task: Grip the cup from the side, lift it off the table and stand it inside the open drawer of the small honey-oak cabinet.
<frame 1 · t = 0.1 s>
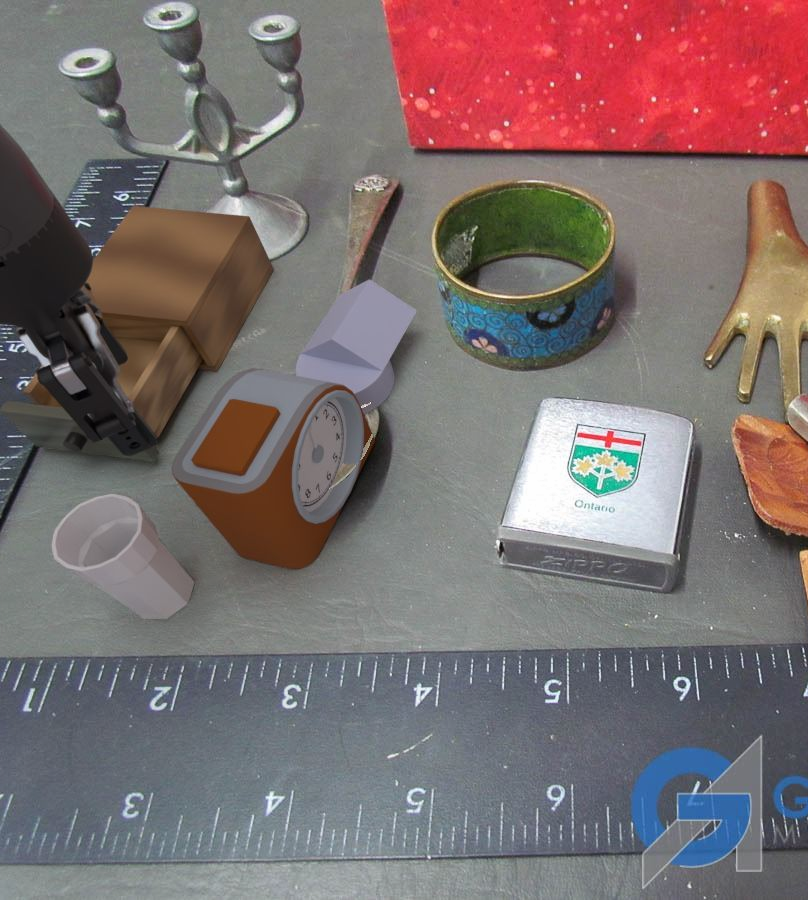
hand: (127, 404, 57), 21 cm above the table, tool pointing down, fingers open, 8 cm apart
drawer: (113, 382, 80), point 4 cm above the table, slide at 11.0 cm
alarm clock: (306, 496, 77), on the table
cup: (164, 594, 72), on the table
cabinet: (189, 311, 91), on the table
wedge on round base: (359, 370, 86), on the table
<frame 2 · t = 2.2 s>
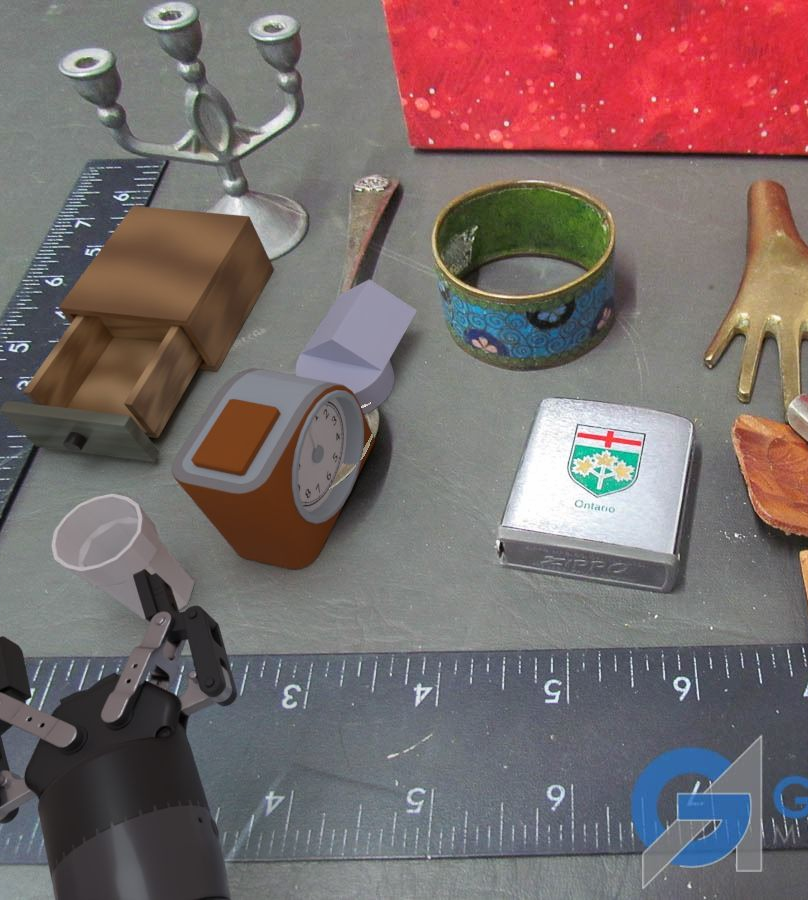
hand: (76, 609, 51), 18 cm above the table, tool horizontal, fingers open, 8 cm apart
nothing on the table moved.
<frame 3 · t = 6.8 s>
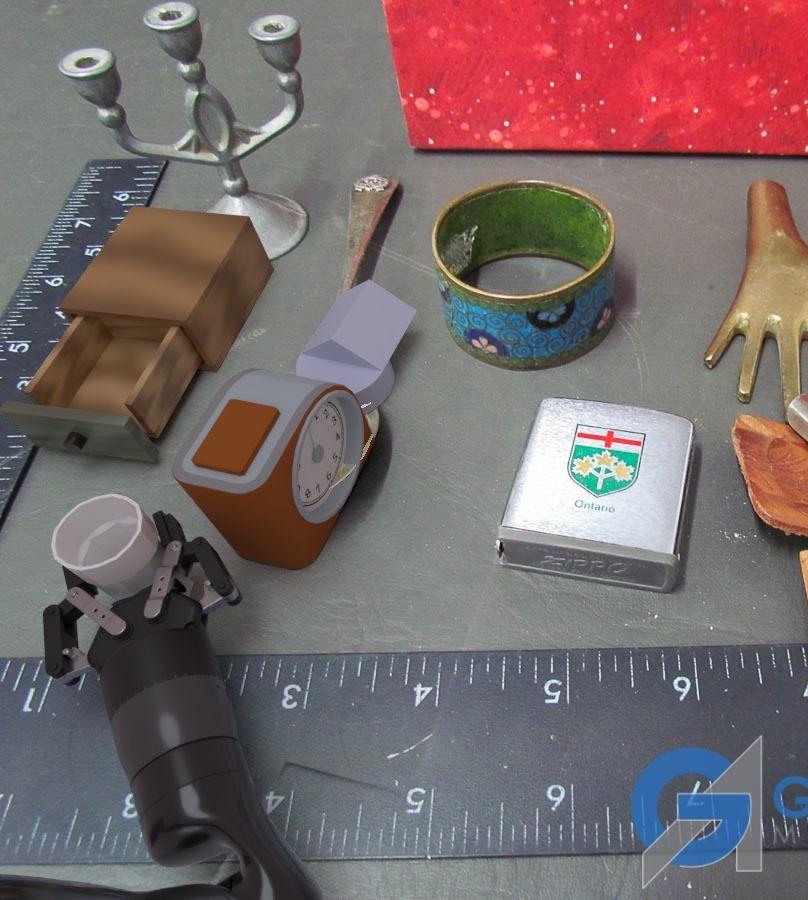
hand: (120, 535, 67), 7 cm above the table, tool horizontal, fingers closed on cup, 6 cm apart
cup: (163, 594, 72), on the table, touching gripper
everything else where it was.
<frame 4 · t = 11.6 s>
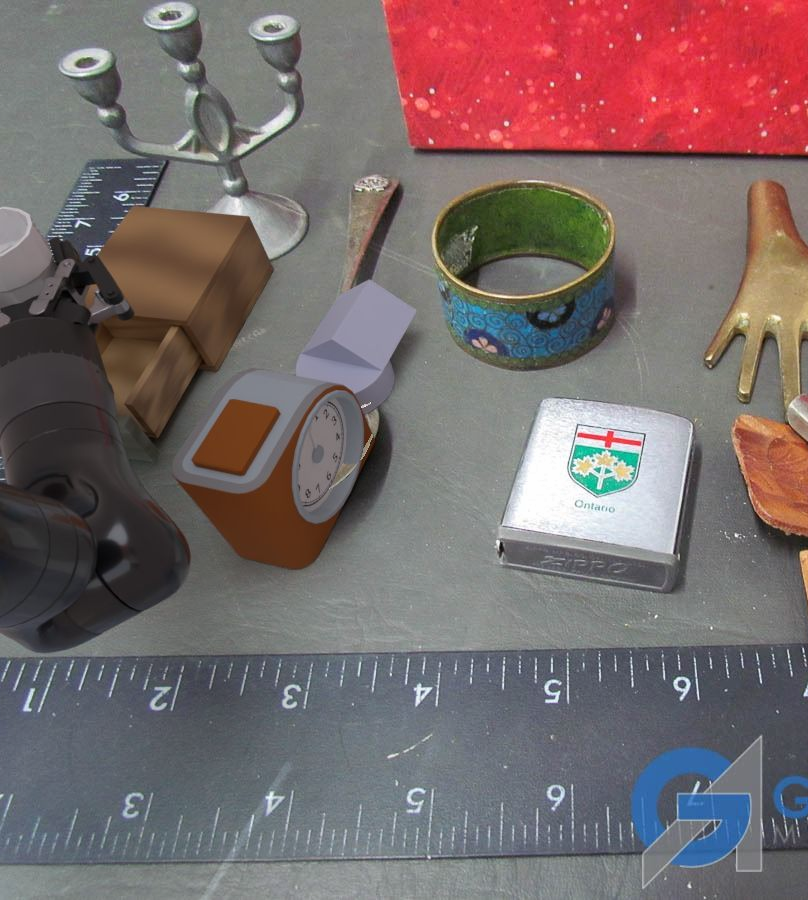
hand: (16, 261, 67), 20 cm above the table, tool horizontal, fingers closed on cup, 6 cm apart
cup: (66, 336, 72), point 13 cm above the table, touching gripper
everything else where it was.
when the fingers open (9 cm above the table, at t = 16.4 s): cup moves 1 cm, resting on drawer.
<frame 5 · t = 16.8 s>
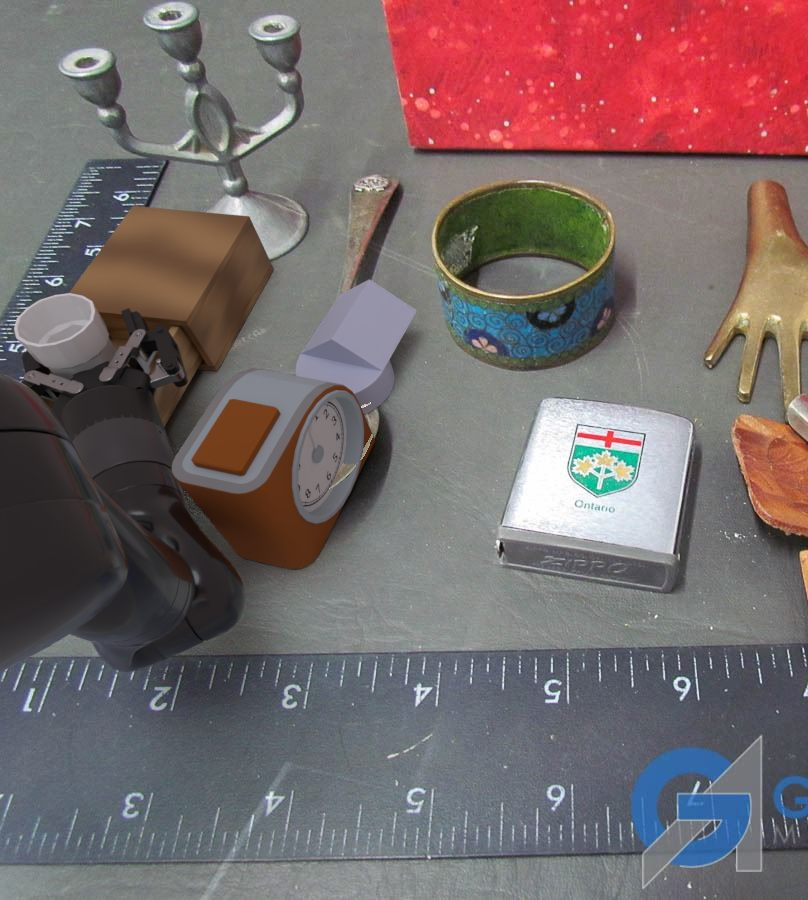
hand: (83, 333, 77), 9 cm above the table, tool horizontal, fingers open, 8 cm apart
drawer: (112, 383, 80), point 4 cm above the table, slide at 11.2 cm, touching cup
cup: (113, 401, 82), point 2 cm above the table, touching drawer, gripper
everything else where it was.
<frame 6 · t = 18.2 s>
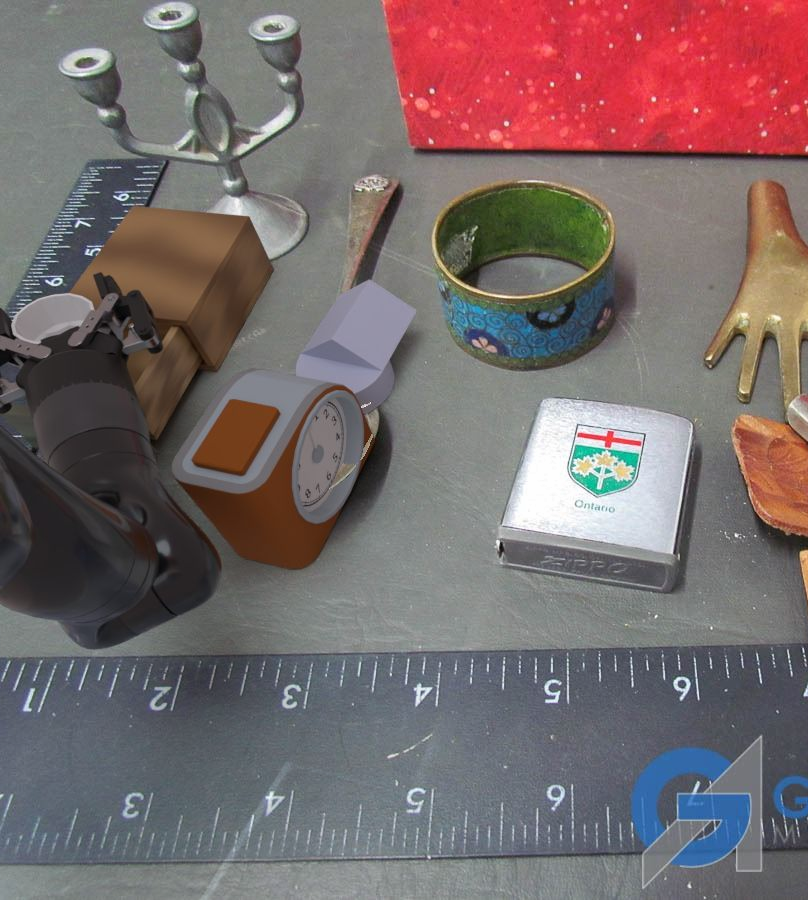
hand: (53, 297, 74), 13 cm above the table, tool horizontal, fingers open, 8 cm apart
nothing on the table moved.
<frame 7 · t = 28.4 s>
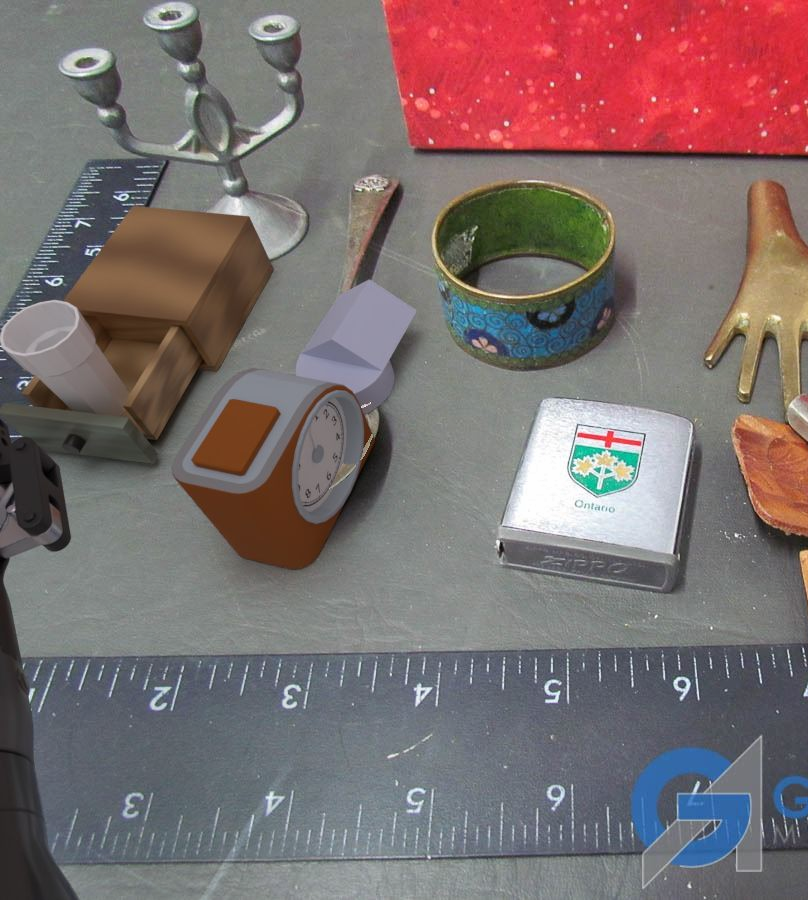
cup: (106, 405, 81), point 2 cm above the table, touching drawer
everything else where it was.
at the end: cup inside the target area in the drawer (2.0 cm from its centre), point 1.8 cm above the cabinet's base; cup tilted 0°; the gripper is holding nothing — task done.
